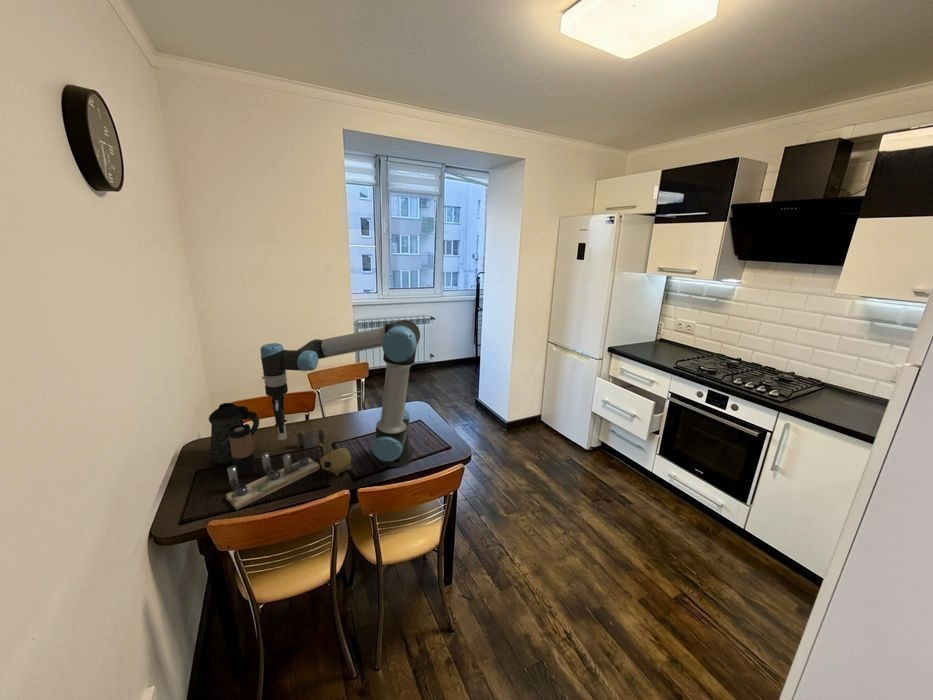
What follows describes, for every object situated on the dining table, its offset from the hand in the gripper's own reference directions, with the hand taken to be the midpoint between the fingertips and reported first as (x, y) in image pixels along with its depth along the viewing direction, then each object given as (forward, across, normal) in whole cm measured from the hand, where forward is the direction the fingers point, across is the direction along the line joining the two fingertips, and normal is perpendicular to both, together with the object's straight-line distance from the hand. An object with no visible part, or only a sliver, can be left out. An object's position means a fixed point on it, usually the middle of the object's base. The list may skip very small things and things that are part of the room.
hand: (282, 438), depth 145 cm
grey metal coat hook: (+14, +8, -16) cm, 22 cm away
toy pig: (+16, +6, +19) cm, 26 cm away
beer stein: (+16, -21, -22) cm, 34 cm away
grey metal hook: (+14, +2, -5) cm, 15 cm away
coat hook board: (+16, +5, -4) cm, 17 cm away
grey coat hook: (+14, +1, +4) cm, 14 cm away
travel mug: (+16, -7, -16) cm, 24 cm away
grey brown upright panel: (+17, -19, +9) cm, 27 cm away
